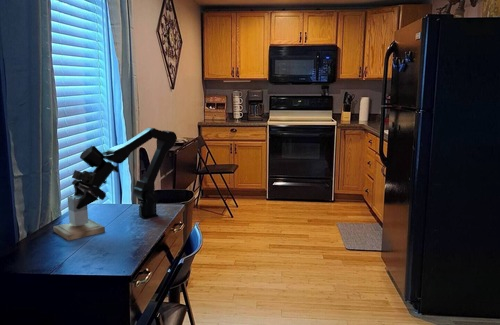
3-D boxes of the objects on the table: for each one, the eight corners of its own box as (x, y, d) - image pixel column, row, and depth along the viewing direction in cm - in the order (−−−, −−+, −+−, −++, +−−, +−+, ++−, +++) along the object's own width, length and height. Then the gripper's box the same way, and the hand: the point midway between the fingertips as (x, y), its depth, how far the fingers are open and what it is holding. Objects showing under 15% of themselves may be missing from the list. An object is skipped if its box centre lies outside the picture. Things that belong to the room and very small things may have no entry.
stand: (89, 223, 169) (88, 217, 168) (105, 231, 159) (104, 225, 159) (53, 231, 159) (53, 225, 159) (68, 240, 149) (67, 234, 149)
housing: (82, 220, 162) (80, 193, 160) (88, 223, 158) (86, 196, 156) (69, 222, 159) (67, 195, 157) (75, 226, 155) (73, 198, 153)
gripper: (74, 159, 164) (48, 190, 158) (95, 165, 151) (67, 200, 145) (95, 175, 170) (70, 206, 165) (117, 183, 157) (90, 216, 152)
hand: (74, 207), depth 156 cm, fingers closed on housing, 5 cm apart
